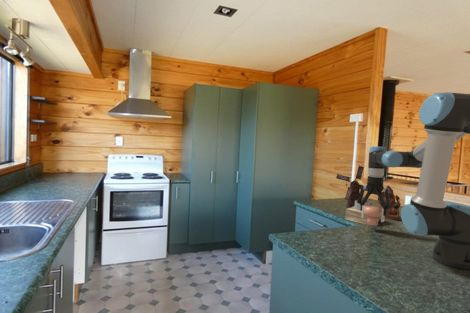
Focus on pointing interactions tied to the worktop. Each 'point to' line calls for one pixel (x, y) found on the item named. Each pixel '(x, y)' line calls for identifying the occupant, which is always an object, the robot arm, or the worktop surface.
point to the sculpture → (392, 212)
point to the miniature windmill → (352, 187)
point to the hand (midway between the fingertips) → (372, 219)
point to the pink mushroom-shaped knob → (372, 214)
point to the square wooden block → (356, 216)
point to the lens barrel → (358, 206)
